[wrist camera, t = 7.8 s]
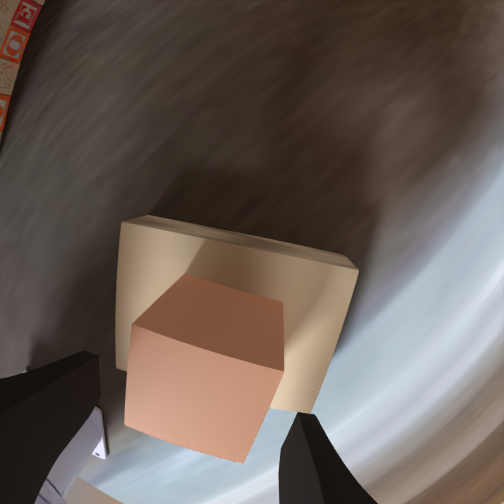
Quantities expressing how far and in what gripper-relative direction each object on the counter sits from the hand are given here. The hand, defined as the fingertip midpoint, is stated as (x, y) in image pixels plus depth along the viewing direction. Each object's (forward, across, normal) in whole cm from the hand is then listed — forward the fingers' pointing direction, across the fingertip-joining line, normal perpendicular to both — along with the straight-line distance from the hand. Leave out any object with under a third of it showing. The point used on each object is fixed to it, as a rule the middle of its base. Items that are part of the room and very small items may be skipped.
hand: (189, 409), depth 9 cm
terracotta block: (+6, 0, 0) cm, 6 cm away
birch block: (+10, 0, 0) cm, 10 cm away
